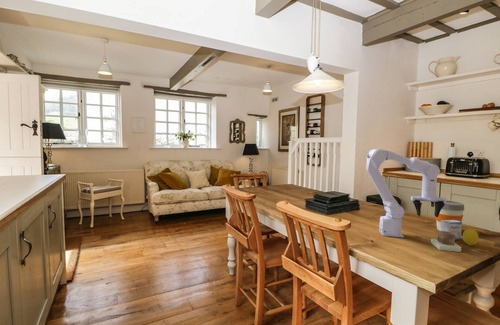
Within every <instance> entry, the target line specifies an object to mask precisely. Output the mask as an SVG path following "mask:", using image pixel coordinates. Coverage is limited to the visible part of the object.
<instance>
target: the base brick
mask: <svg viewBox="0 0 500 325" xmlns="http://www.w3.org/2000/svg"><path fill="white" fill-rule="evenodd" d="M437 239H438V238H437ZM437 239H436V238H431V239H430V243H431V244H432V245H433V246H434V247H436V248H437V249H438V250H439V251H447V252H448V251H450V252H458V253H462V246H460V245H458V244H457V243H456V242H455V243H454V245H446V244H442V243H440V242H439V241H438V240H437Z"/></svg>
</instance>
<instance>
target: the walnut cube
mask: <svg viewBox="0 0 500 325" xmlns="http://www.w3.org/2000/svg"><path fill="white" fill-rule="evenodd" d="M437 240H438V241H439V242H440V243H442V244H446V245H454V243H456V242H455V241H456V240H455V235H454V234H453V233H451V232H447V231H440V230H437Z"/></svg>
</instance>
